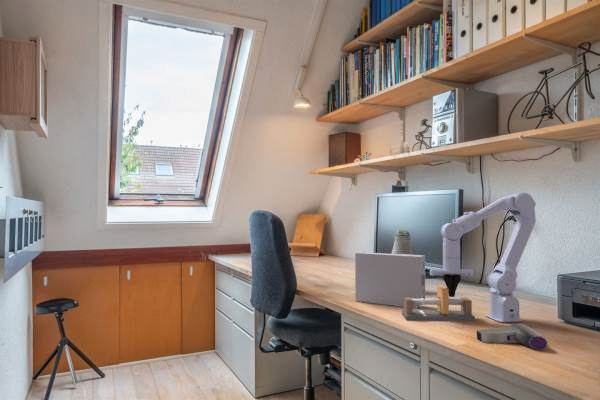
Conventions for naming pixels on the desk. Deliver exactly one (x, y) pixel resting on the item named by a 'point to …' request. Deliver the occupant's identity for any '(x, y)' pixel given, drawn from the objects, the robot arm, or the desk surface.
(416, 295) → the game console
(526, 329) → the infrared thermometer
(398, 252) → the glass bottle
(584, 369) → the desk surface
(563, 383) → the desk surface
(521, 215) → the robot arm
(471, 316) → the pipe stand
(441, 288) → the collar
